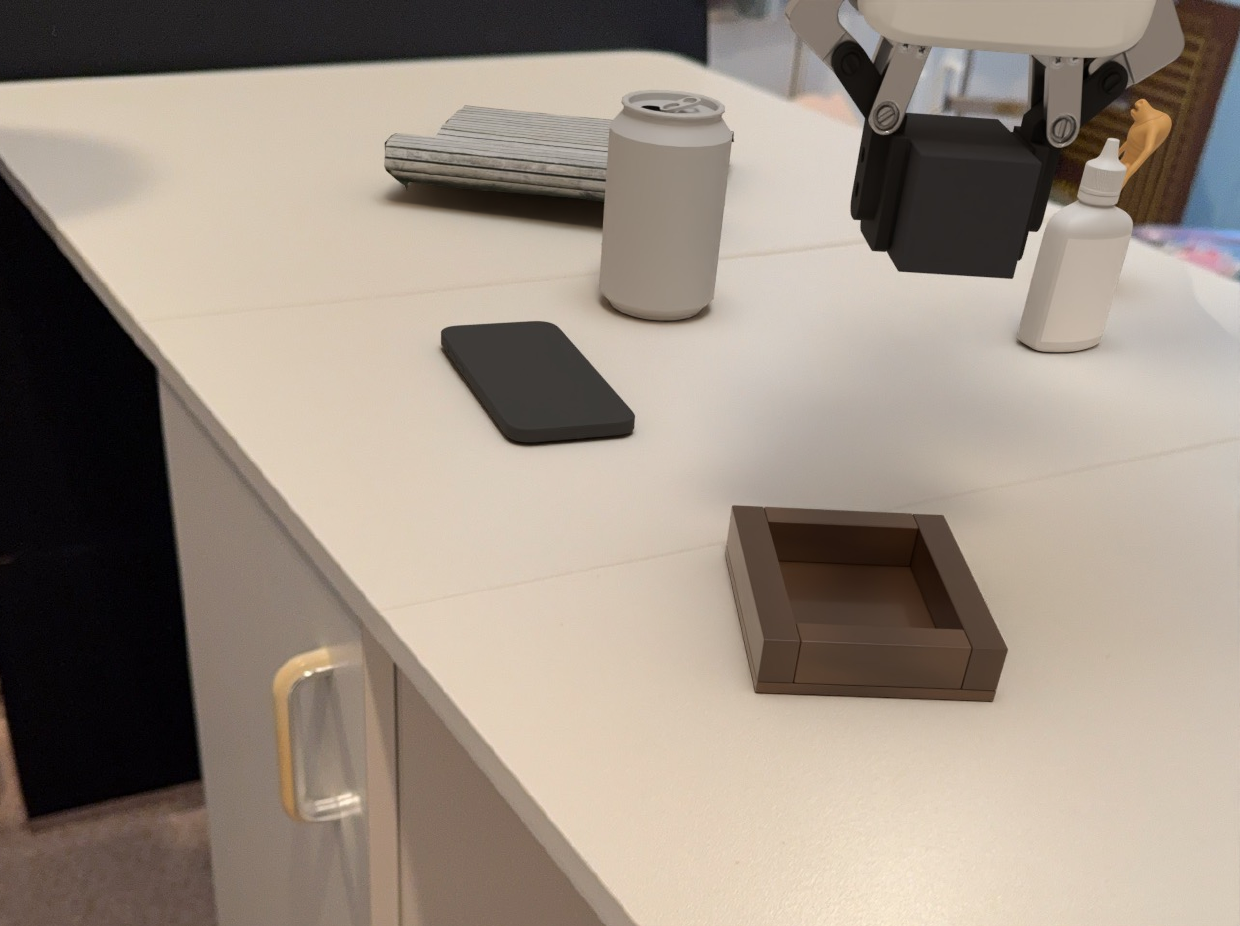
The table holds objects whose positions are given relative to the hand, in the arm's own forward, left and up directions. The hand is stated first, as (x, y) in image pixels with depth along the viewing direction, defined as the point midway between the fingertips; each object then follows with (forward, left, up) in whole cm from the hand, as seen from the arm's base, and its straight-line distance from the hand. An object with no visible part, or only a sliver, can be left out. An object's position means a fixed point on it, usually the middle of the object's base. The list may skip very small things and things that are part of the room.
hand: (939, 240), depth 56 cm
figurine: (-24, -47, -16) cm, 55 cm away
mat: (+12, -65, -16) cm, 68 cm away
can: (+7, -38, -16) cm, 41 cm away
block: (0, 0, 0) cm, 0 cm away
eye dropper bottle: (-19, -35, -16) cm, 42 cm away
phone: (+15, -23, -16) cm, 31 cm away
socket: (+1, +2, -15) cm, 16 cm away
